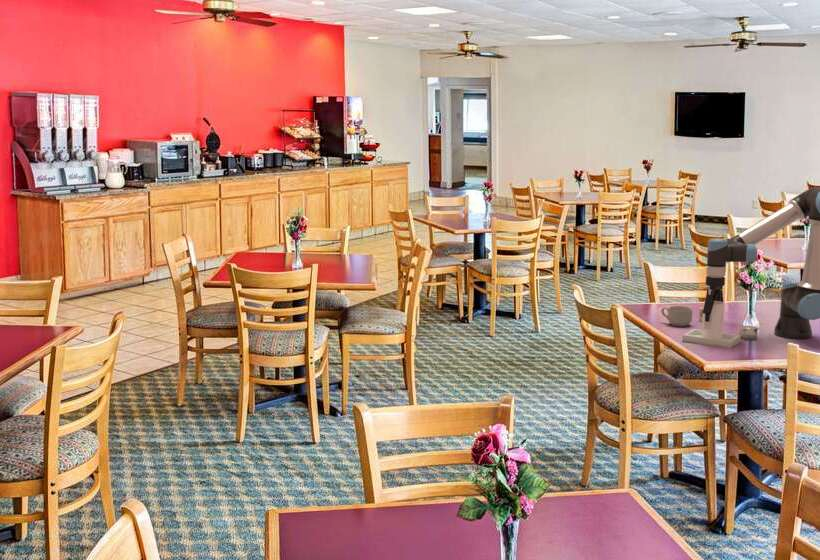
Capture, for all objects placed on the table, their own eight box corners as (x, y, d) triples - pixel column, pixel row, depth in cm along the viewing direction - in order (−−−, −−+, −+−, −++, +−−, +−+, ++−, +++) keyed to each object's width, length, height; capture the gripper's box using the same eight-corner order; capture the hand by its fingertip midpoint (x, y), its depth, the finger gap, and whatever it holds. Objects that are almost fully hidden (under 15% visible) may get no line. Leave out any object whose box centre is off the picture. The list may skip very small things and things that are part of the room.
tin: (758, 338, 398) (759, 326, 397) (754, 341, 392) (755, 329, 391) (742, 336, 402) (742, 324, 401) (737, 339, 396) (738, 327, 395)
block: (710, 320, 433) (711, 307, 432) (710, 322, 428) (711, 309, 427) (699, 319, 434) (700, 306, 433) (699, 321, 430) (699, 308, 429)
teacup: (696, 325, 422) (697, 308, 420) (684, 329, 414) (685, 311, 413) (668, 320, 431) (669, 303, 430) (656, 324, 424) (657, 306, 422)
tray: (740, 341, 391) (740, 335, 391) (730, 348, 380) (731, 341, 379) (693, 335, 402) (693, 328, 402) (682, 341, 391) (682, 335, 391)
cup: (724, 342, 387) (726, 304, 384) (704, 342, 387) (706, 304, 384) (718, 337, 395) (720, 300, 392) (698, 337, 395) (701, 300, 392)
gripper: (715, 271, 398) (712, 319, 402) (696, 279, 378) (693, 330, 382) (733, 272, 394) (730, 321, 398) (715, 281, 374) (712, 332, 378)
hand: (712, 326), depth 390 cm, fingers open, 13 cm apart
